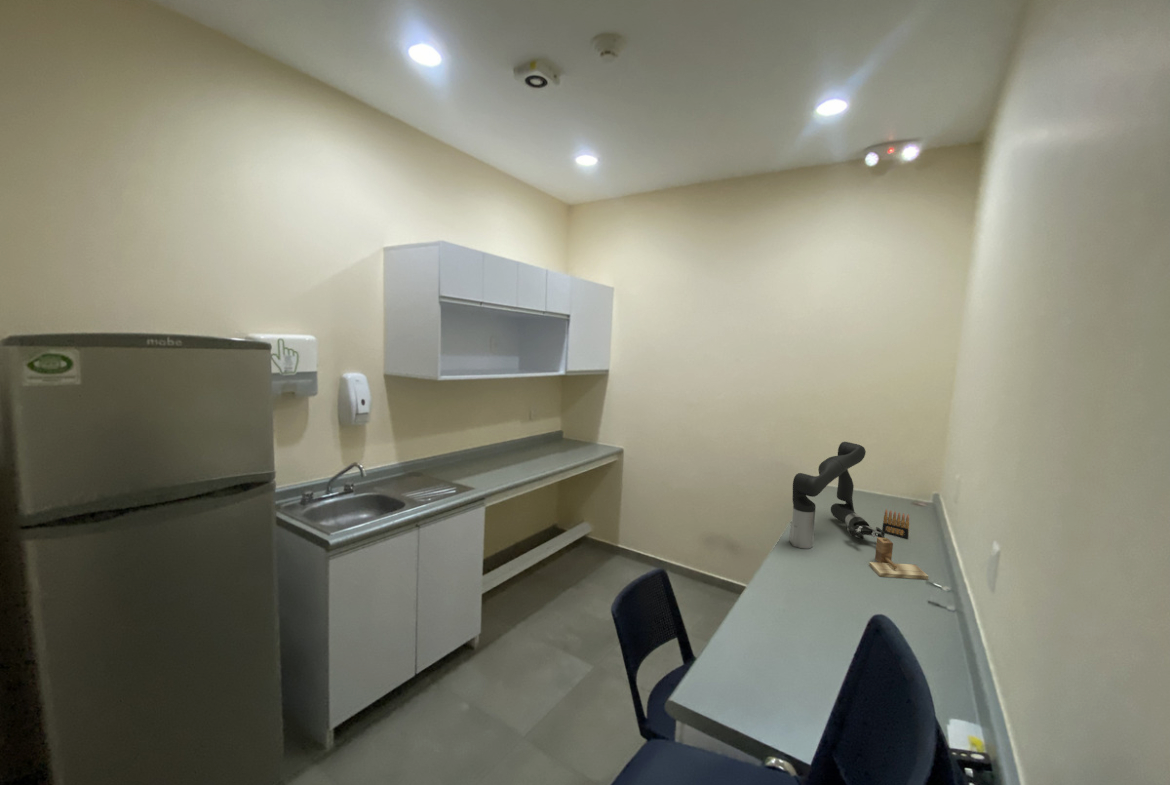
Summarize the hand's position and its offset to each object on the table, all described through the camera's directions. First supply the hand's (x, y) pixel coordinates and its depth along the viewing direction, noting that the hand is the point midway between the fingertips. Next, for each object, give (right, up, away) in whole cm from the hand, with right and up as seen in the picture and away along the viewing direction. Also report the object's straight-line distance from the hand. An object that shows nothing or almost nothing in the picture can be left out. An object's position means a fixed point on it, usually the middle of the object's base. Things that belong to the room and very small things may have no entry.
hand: (873, 538), depth 208 cm
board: (0, -8, -17) cm, 19 cm away
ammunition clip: (+21, -4, +17) cm, 28 cm away
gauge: (-2, -8, -12) cm, 15 cm away
